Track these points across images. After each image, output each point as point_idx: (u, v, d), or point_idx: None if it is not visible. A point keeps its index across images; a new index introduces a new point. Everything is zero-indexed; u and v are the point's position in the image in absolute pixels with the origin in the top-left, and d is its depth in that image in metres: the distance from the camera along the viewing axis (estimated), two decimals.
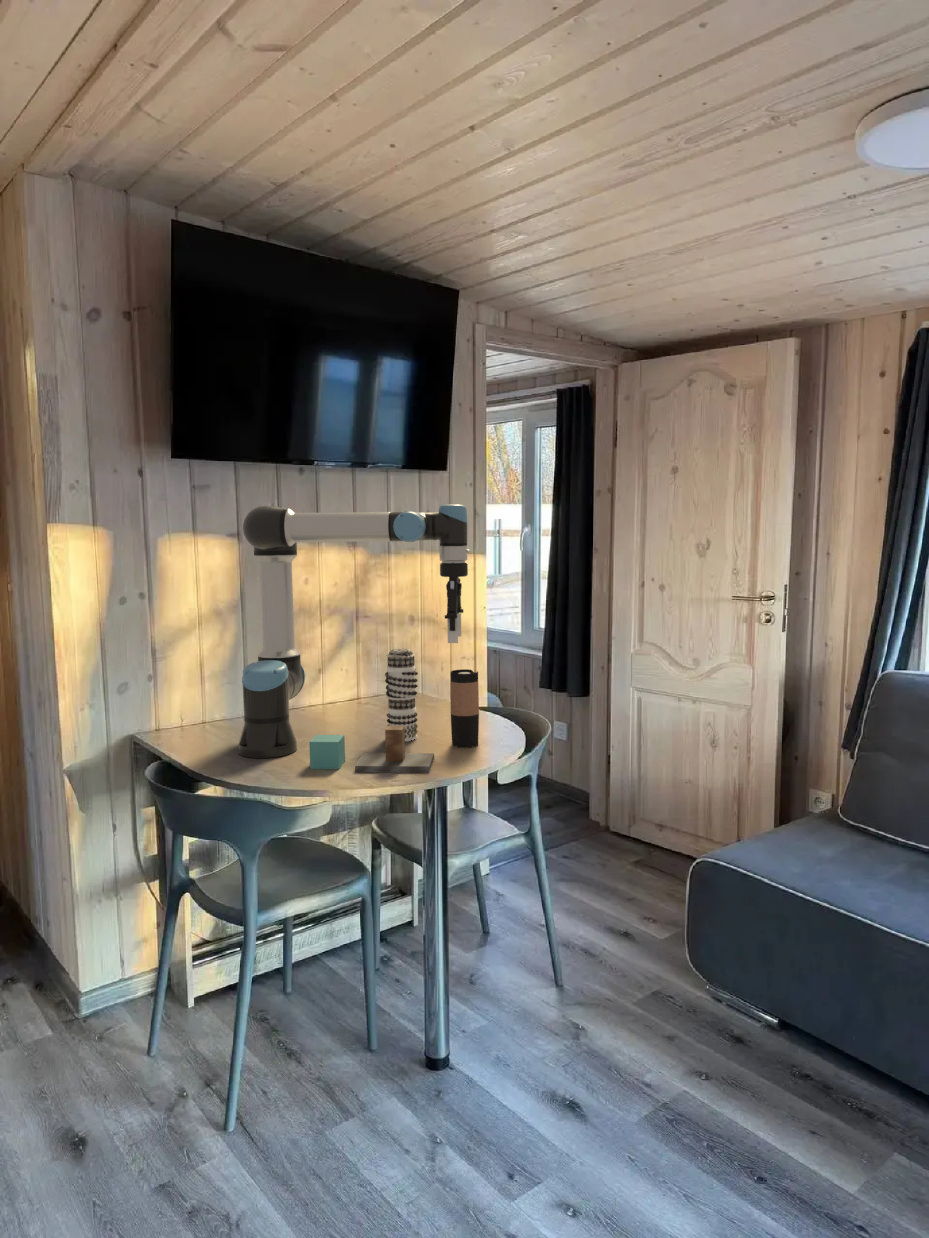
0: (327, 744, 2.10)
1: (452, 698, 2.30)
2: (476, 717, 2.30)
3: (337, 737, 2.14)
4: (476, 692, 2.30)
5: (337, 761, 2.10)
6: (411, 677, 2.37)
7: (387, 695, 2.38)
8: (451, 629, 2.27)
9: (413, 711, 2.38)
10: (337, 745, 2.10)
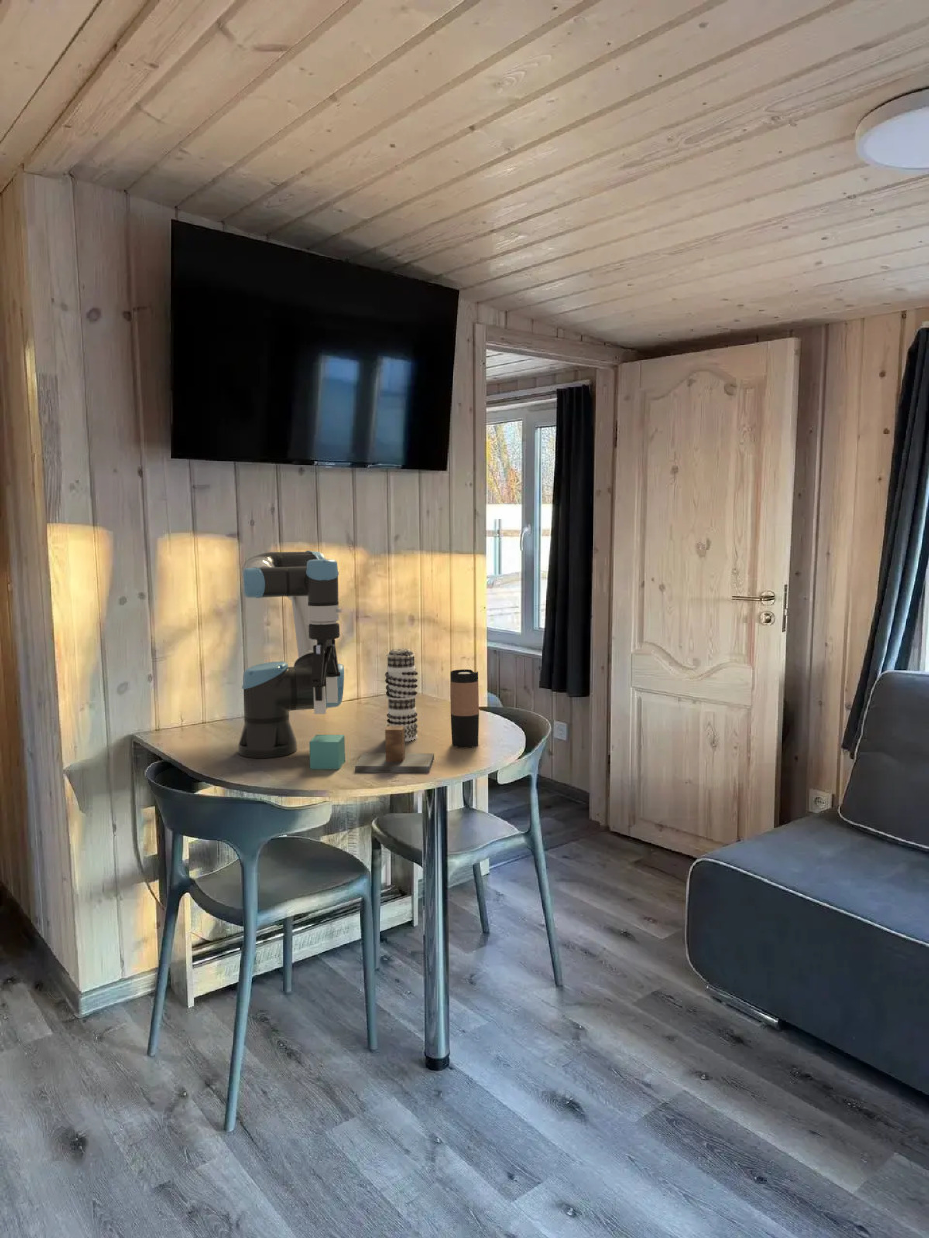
0: (327, 744, 2.10)
1: (452, 698, 2.30)
2: (476, 717, 2.30)
3: (337, 737, 2.14)
4: (476, 692, 2.30)
5: (337, 761, 2.10)
6: (411, 677, 2.37)
7: (387, 695, 2.38)
8: (317, 699, 2.04)
9: (413, 711, 2.38)
10: (337, 745, 2.10)
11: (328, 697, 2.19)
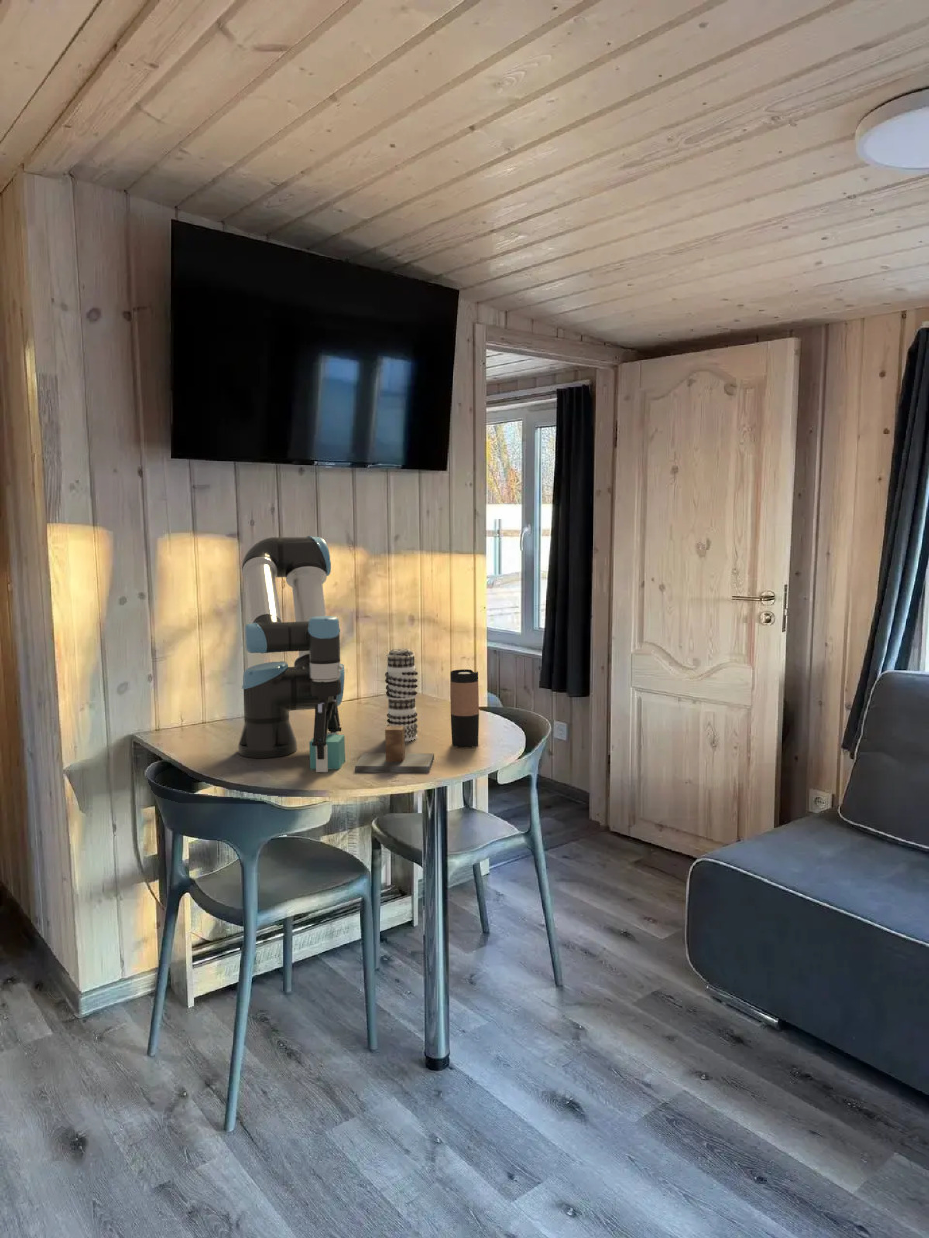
0: (327, 744, 2.10)
1: (452, 698, 2.30)
2: (476, 717, 2.30)
3: (337, 737, 2.14)
4: (476, 692, 2.30)
5: (337, 761, 2.10)
6: (411, 677, 2.37)
7: (387, 695, 2.38)
8: (319, 757, 2.06)
9: (413, 711, 2.38)
10: (337, 745, 2.10)
11: None
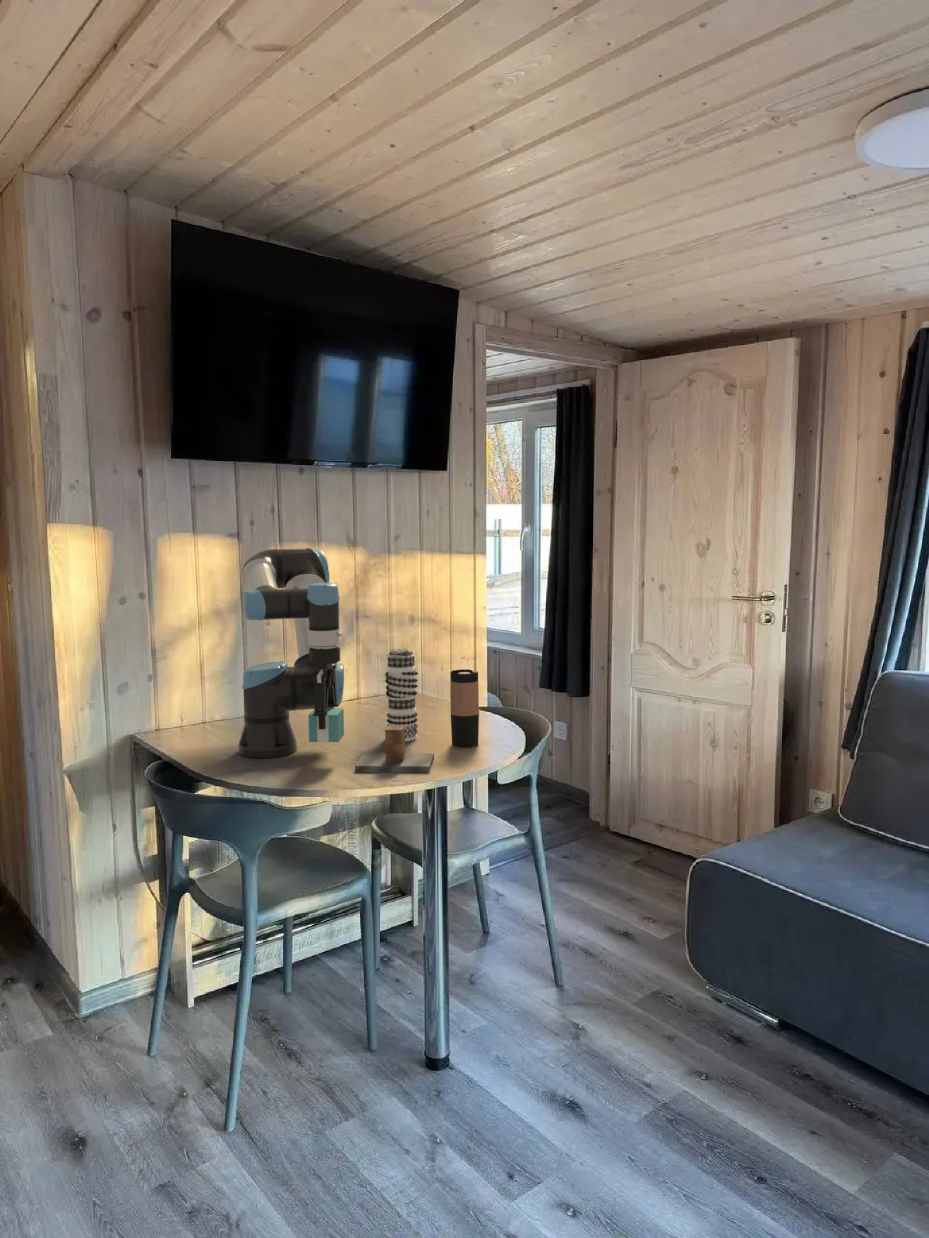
0: None
1: (452, 698, 2.30)
2: (476, 717, 2.30)
3: (336, 710, 2.14)
4: (476, 692, 2.30)
5: (336, 734, 2.10)
6: (411, 677, 2.37)
7: (387, 695, 2.38)
8: (320, 727, 2.08)
9: (413, 711, 2.38)
10: (336, 718, 2.10)
11: None
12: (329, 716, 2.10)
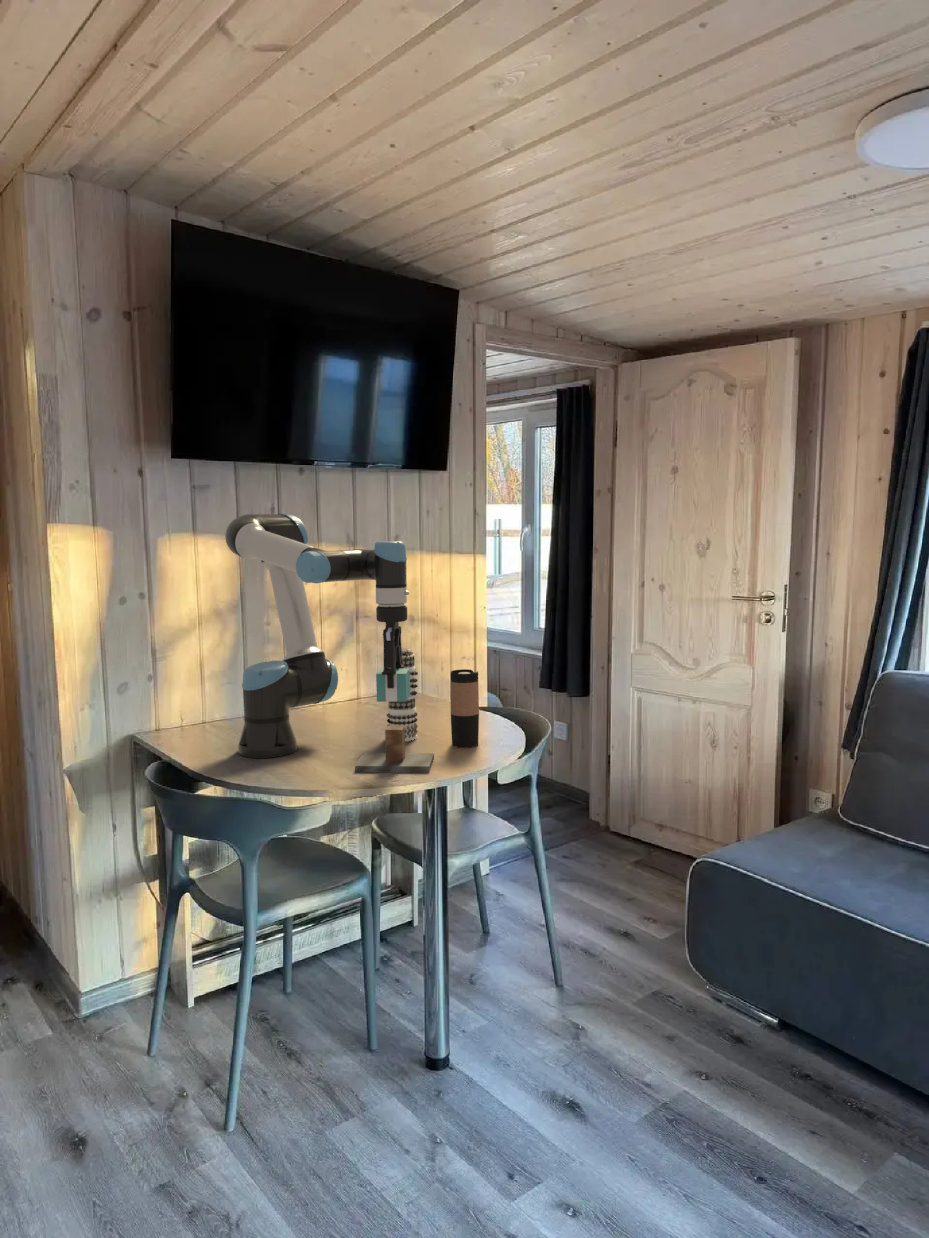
0: None
1: (452, 698, 2.30)
2: (476, 717, 2.30)
3: (403, 670, 2.11)
4: (476, 692, 2.30)
5: (404, 693, 2.07)
6: (411, 677, 2.37)
7: None
8: (389, 686, 2.06)
9: (413, 711, 2.38)
10: (404, 677, 2.07)
11: None
12: (397, 675, 2.07)
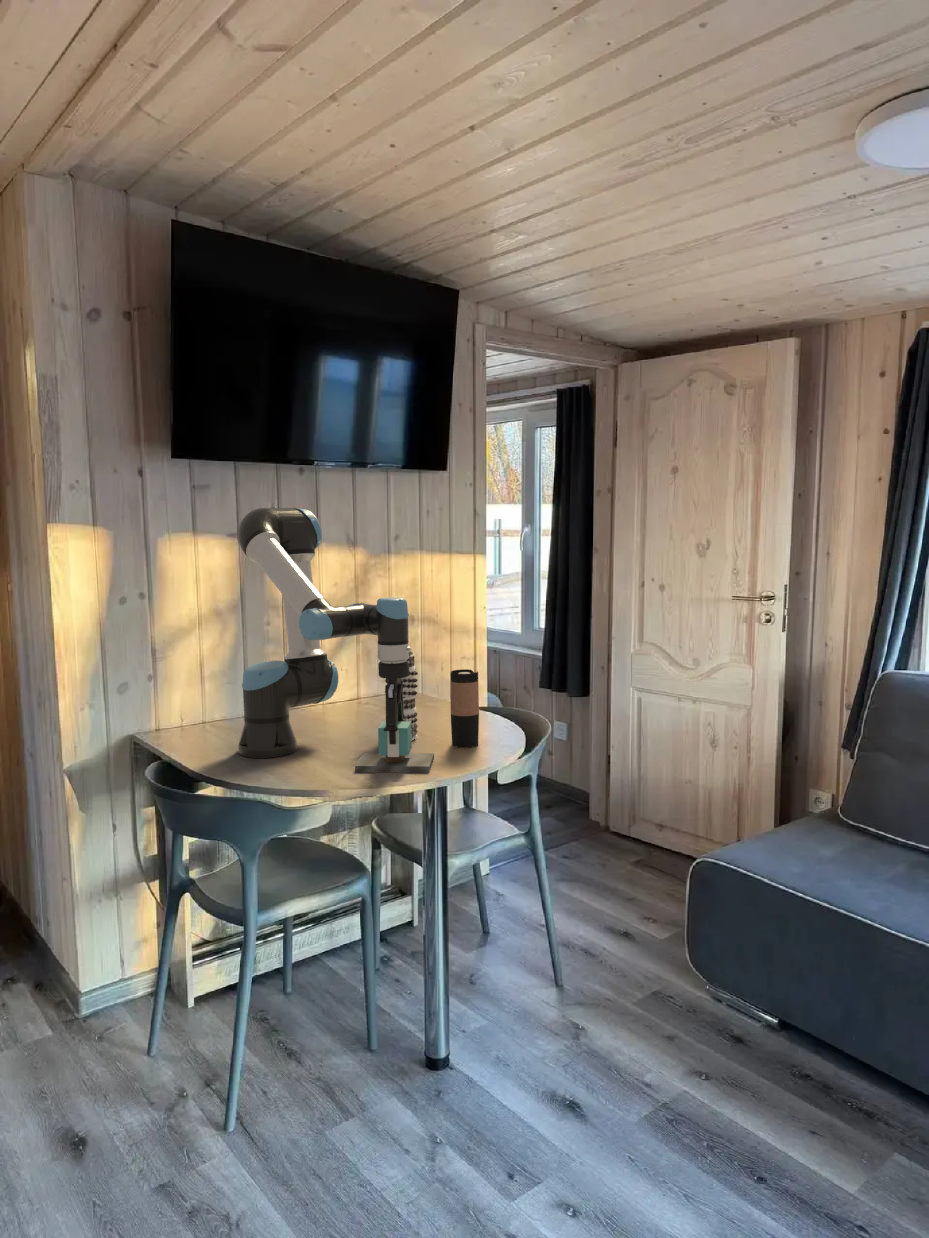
0: None
1: (452, 698, 2.30)
2: (476, 717, 2.30)
3: (405, 723, 2.13)
4: (476, 692, 2.30)
5: (406, 747, 2.09)
6: (411, 677, 2.37)
7: None
8: (391, 742, 2.07)
9: (413, 711, 2.38)
10: (406, 731, 2.09)
11: None
12: (399, 729, 2.09)
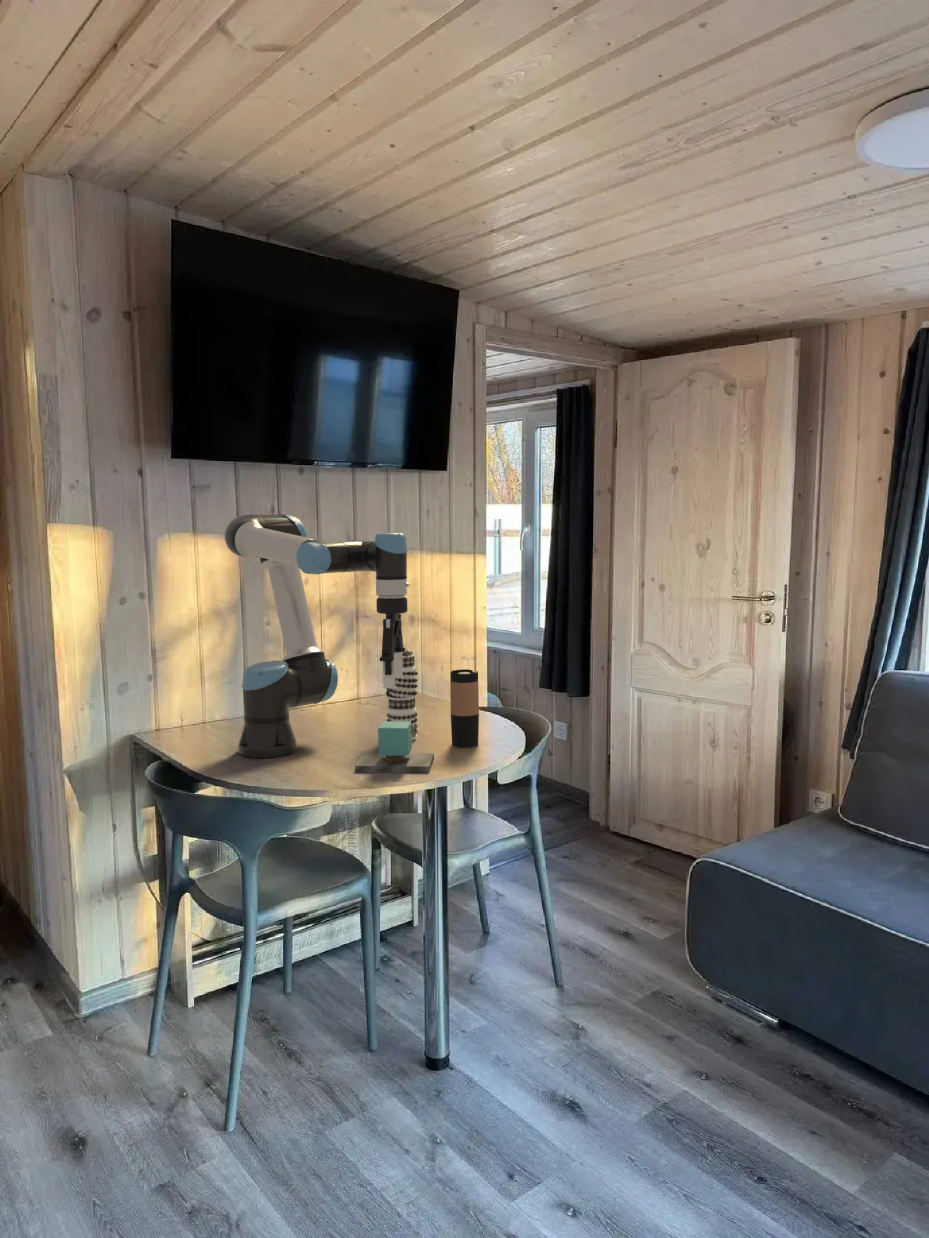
0: (396, 730, 2.09)
1: (452, 698, 2.30)
2: (476, 717, 2.30)
3: (405, 723, 2.13)
4: (476, 692, 2.30)
5: (406, 747, 2.09)
6: (411, 677, 2.37)
7: (387, 695, 2.38)
8: (387, 673, 2.03)
9: (413, 711, 2.38)
10: (406, 731, 2.09)
11: None
12: (399, 729, 2.09)
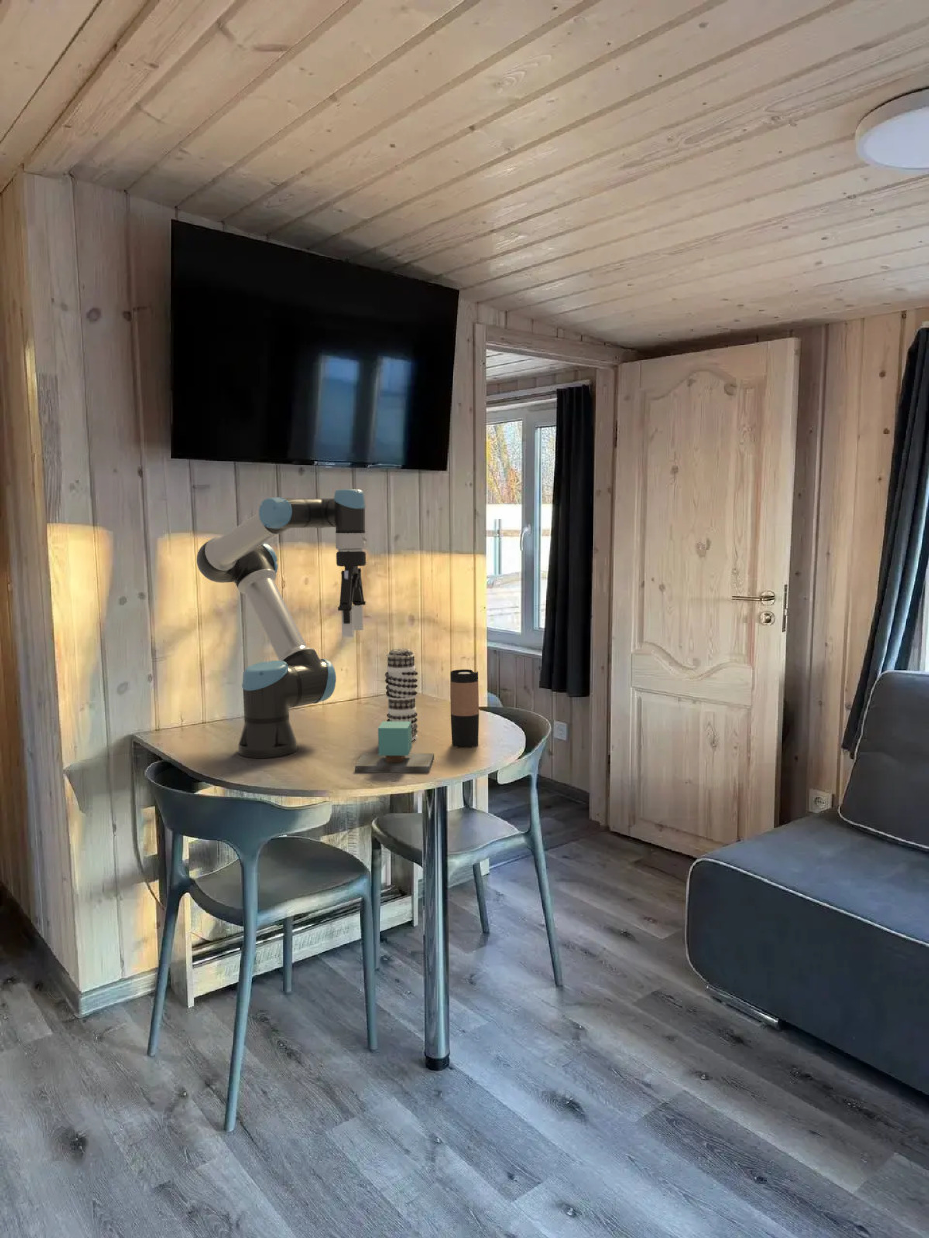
0: (396, 730, 2.09)
1: (452, 698, 2.30)
2: (476, 717, 2.30)
3: (405, 723, 2.13)
4: (476, 692, 2.30)
5: (406, 747, 2.09)
6: (411, 677, 2.37)
7: (387, 695, 2.38)
8: (345, 622, 2.13)
9: (413, 711, 2.38)
10: (406, 731, 2.09)
11: (354, 625, 2.28)
12: (399, 729, 2.09)
